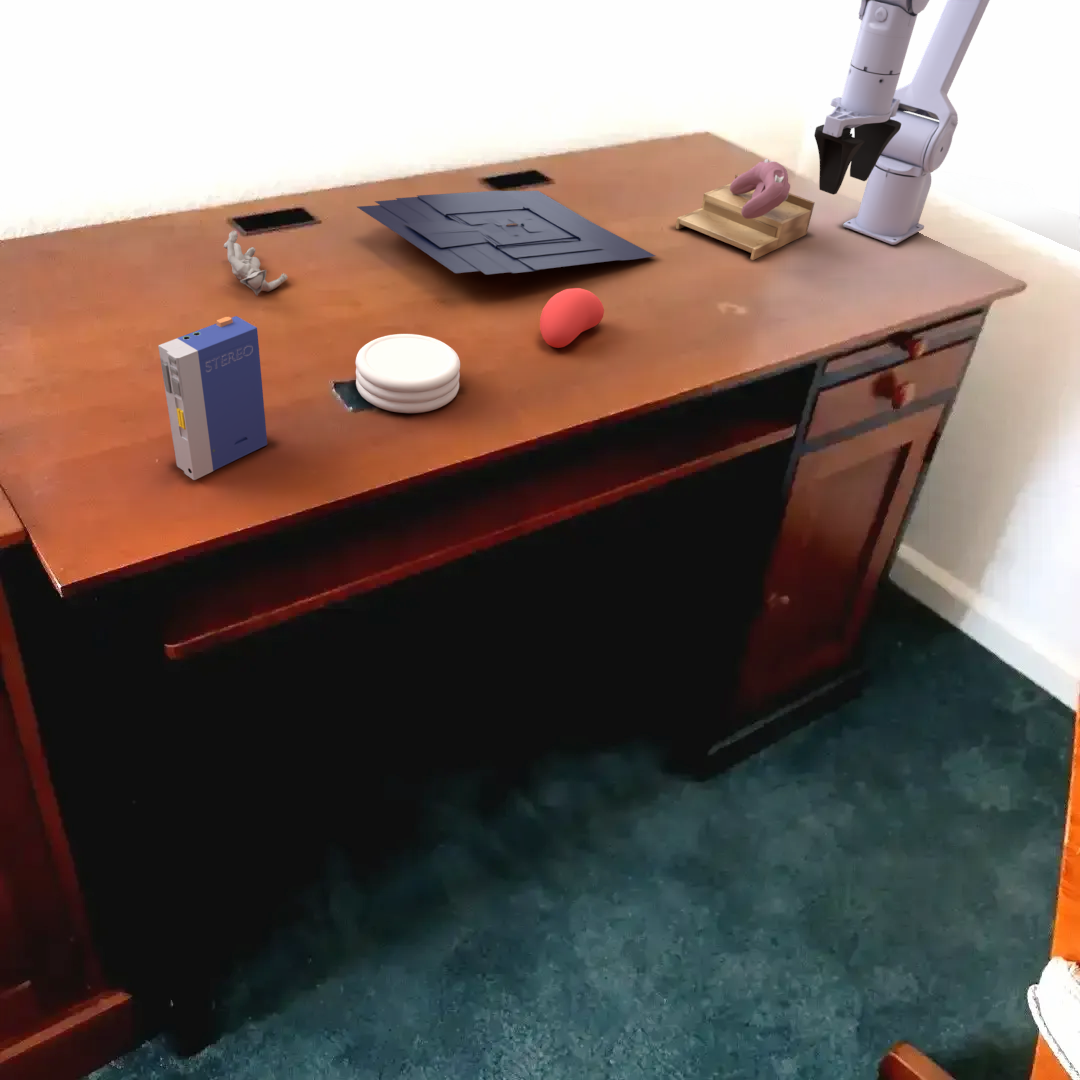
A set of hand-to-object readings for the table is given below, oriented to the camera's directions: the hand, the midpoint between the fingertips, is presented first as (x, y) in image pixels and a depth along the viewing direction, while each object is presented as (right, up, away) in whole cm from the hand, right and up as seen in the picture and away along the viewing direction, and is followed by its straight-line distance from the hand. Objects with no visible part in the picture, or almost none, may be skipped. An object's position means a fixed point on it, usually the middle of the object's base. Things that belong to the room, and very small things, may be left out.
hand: (843, 184), depth 130 cm
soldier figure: (-70, -15, -11) cm, 72 cm away
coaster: (-50, -29, -26) cm, 63 cm away
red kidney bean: (-34, -21, -14) cm, 43 cm away
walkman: (-65, -36, -37) cm, 83 cm away
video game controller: (-9, 0, +11) cm, 14 cm away
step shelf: (-10, -2, +13) cm, 16 cm away
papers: (-42, -7, +2) cm, 42 cm away
